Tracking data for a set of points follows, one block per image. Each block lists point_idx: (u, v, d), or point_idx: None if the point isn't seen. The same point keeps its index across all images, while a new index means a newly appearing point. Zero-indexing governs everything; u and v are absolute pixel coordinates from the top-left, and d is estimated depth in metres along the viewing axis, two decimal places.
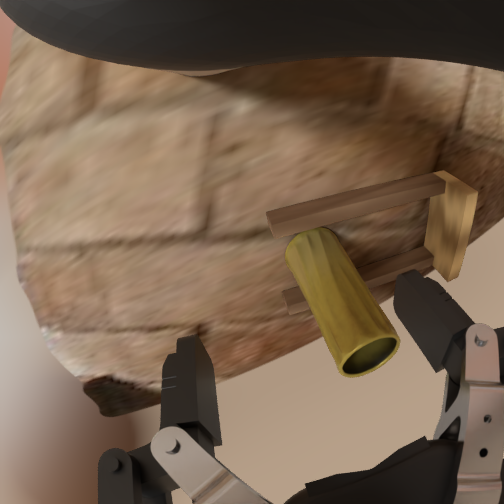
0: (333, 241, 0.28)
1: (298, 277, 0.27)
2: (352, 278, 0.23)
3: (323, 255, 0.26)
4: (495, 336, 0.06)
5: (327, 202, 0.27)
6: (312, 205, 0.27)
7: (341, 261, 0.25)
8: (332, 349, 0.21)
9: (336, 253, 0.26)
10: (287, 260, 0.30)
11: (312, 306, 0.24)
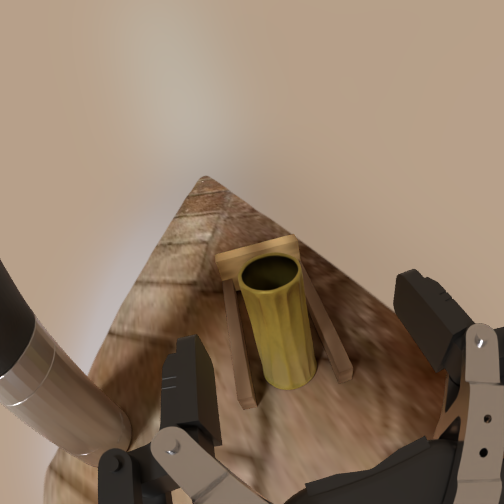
0: None
1: (286, 369, 0.27)
2: None
3: (259, 353, 0.29)
4: (495, 336, 0.06)
5: None
6: None
7: None
8: (273, 307, 0.22)
9: None
10: (292, 385, 0.28)
11: (280, 345, 0.25)
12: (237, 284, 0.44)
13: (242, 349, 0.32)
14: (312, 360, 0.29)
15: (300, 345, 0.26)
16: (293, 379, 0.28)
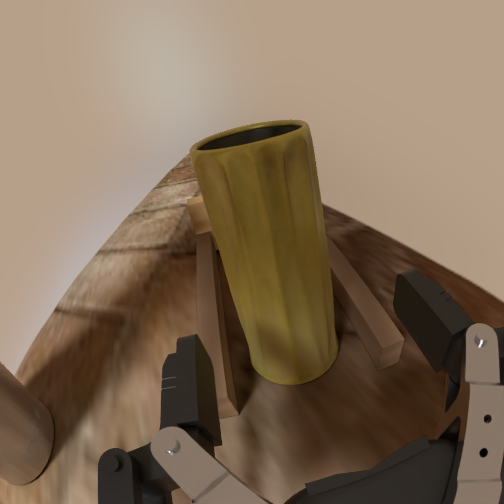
0: None
1: (288, 345, 0.15)
2: None
3: (239, 318, 0.17)
4: (495, 336, 0.06)
5: None
6: None
7: None
8: (256, 189, 0.10)
9: None
10: (299, 377, 0.16)
11: (276, 289, 0.13)
12: None
13: (215, 318, 0.20)
14: (333, 331, 0.17)
15: (314, 293, 0.14)
16: (301, 365, 0.16)
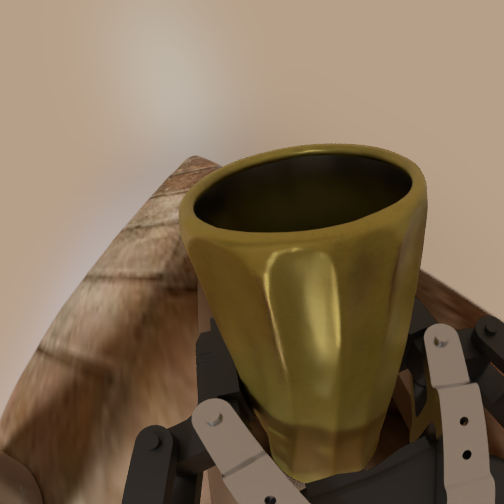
0: None
1: (327, 463, 0.09)
2: None
3: None
4: (457, 337, 0.07)
5: None
6: None
7: None
8: (331, 323, 0.05)
9: None
10: None
11: (329, 430, 0.07)
12: None
13: None
14: (380, 428, 0.11)
15: (376, 418, 0.08)
16: (338, 471, 0.10)
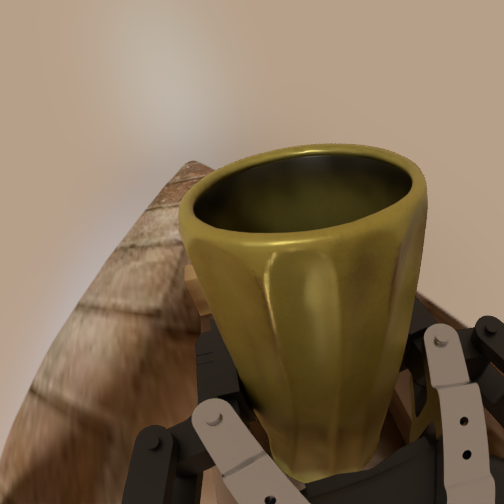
0: None
1: (328, 463, 0.09)
2: None
3: (262, 425, 0.11)
4: (457, 337, 0.07)
5: None
6: None
7: None
8: (331, 324, 0.05)
9: None
10: None
11: (329, 431, 0.07)
12: None
13: None
14: (380, 428, 0.11)
15: (376, 418, 0.08)
16: (338, 472, 0.10)
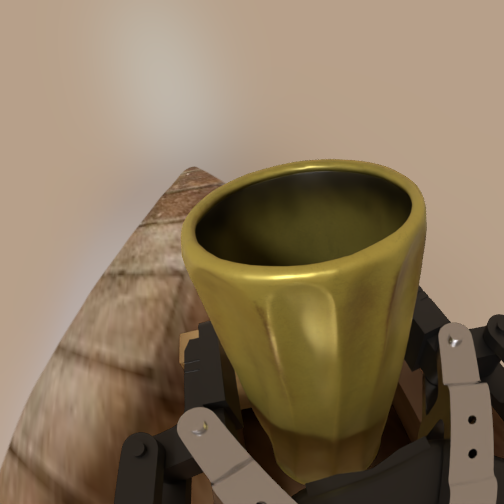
0: None
1: (329, 468, 0.09)
2: None
3: (265, 431, 0.11)
4: (470, 336, 0.07)
5: None
6: None
7: None
8: (330, 347, 0.05)
9: None
10: None
11: (330, 439, 0.07)
12: (242, 400, 0.16)
13: None
14: (381, 433, 0.11)
15: (376, 425, 0.08)
16: None
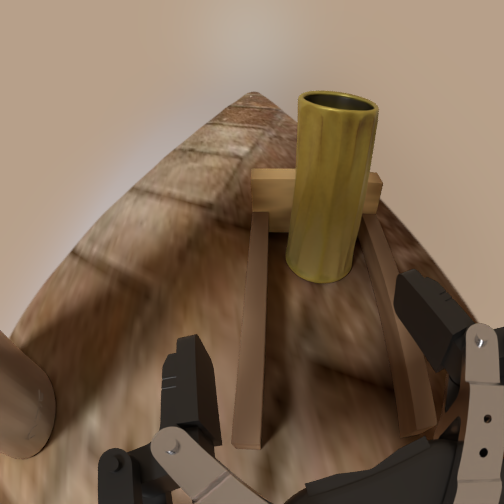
0: None
1: (321, 246, 0.21)
2: None
3: (291, 219, 0.23)
4: (495, 336, 0.06)
5: None
6: None
7: None
8: (337, 136, 0.15)
9: None
10: (319, 277, 0.23)
11: (328, 202, 0.19)
12: (273, 223, 0.28)
13: (262, 343, 0.17)
14: (352, 250, 0.23)
15: (350, 214, 0.20)
16: (324, 267, 0.23)
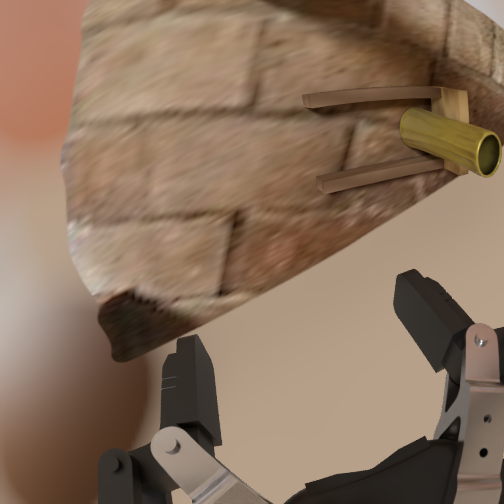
0: None
1: (418, 130, 0.30)
2: None
3: (433, 113, 0.28)
4: (495, 336, 0.06)
5: (349, 89, 0.29)
6: (338, 90, 0.29)
7: None
8: (466, 148, 0.22)
9: None
10: (402, 127, 0.32)
11: (438, 137, 0.26)
12: (435, 100, 0.30)
13: (361, 100, 0.29)
14: (418, 148, 0.32)
15: (434, 148, 0.28)
16: (408, 130, 0.32)
